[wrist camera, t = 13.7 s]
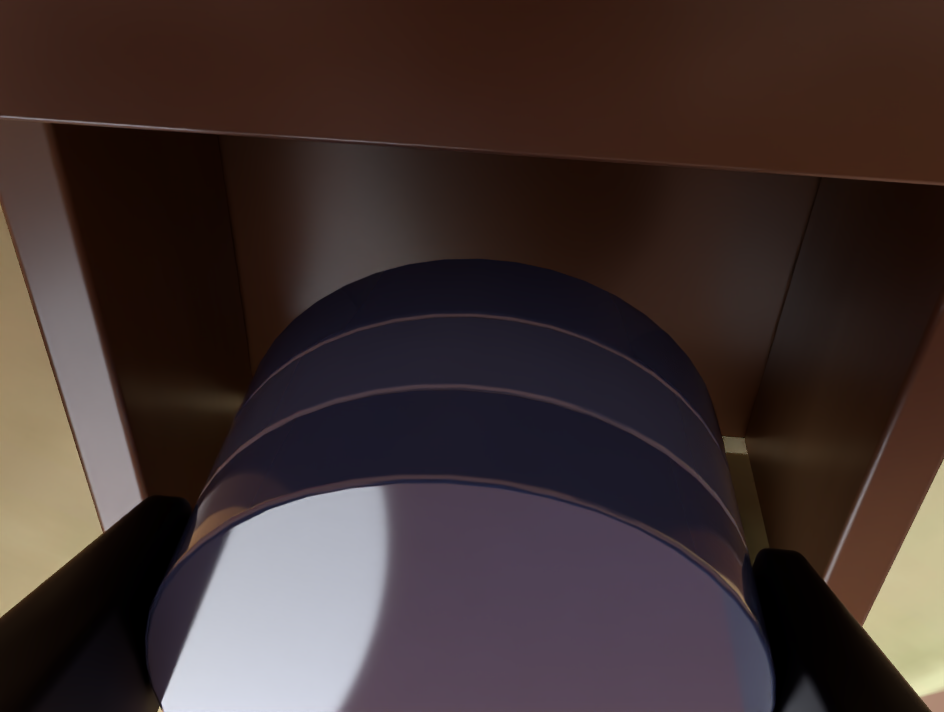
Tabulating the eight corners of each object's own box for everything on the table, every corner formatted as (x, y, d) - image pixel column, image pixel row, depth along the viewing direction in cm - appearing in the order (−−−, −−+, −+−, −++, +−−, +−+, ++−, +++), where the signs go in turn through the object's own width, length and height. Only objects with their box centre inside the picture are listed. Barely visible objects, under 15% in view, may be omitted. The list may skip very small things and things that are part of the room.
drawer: (731, 642, 22) (775, 904, 17) (241, 596, 22) (155, 839, 18) (1047, -265, 11) (1406, -216, 6) (71, -312, 11) (-270, -300, 7)
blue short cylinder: (306, 620, 14) (241, 859, 11) (182, 277, 11) (38, 494, 8) (715, 610, 13) (761, 867, 10) (728, 233, 10) (803, 460, 7)
